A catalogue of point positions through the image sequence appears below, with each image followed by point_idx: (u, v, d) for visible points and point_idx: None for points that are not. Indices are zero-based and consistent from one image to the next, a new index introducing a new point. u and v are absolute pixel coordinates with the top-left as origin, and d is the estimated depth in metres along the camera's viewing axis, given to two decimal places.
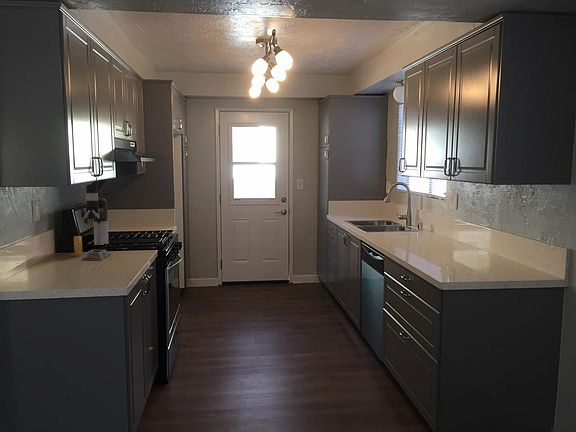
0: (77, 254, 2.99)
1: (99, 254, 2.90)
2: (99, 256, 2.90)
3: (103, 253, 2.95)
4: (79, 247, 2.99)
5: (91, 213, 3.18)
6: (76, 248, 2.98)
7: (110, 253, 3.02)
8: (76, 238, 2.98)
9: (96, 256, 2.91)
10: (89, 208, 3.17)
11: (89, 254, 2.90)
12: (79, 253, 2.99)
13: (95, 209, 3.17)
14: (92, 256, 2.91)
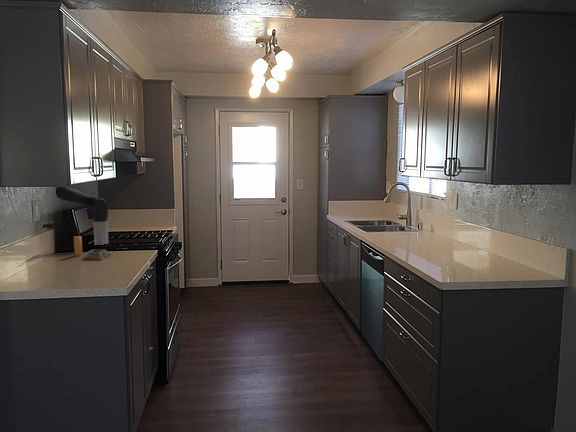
0: (77, 254, 2.99)
1: (99, 254, 2.90)
2: (99, 256, 2.90)
3: (103, 253, 2.95)
4: (79, 247, 2.99)
5: None
6: (76, 248, 2.98)
7: (110, 253, 3.02)
8: (76, 238, 2.98)
9: (96, 256, 2.91)
10: None
11: (89, 254, 2.90)
12: (79, 253, 2.99)
13: None
14: (92, 256, 2.91)
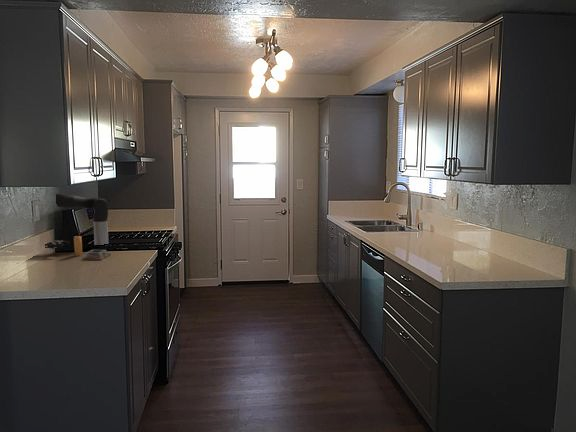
0: (77, 254, 2.99)
1: (99, 254, 2.90)
2: (99, 256, 2.90)
3: (103, 253, 2.95)
4: (79, 247, 2.99)
5: None
6: (76, 248, 2.98)
7: (110, 253, 3.02)
8: (76, 238, 2.98)
9: (96, 256, 2.91)
10: None
11: (89, 254, 2.90)
12: (79, 253, 2.99)
13: None
14: (92, 256, 2.91)
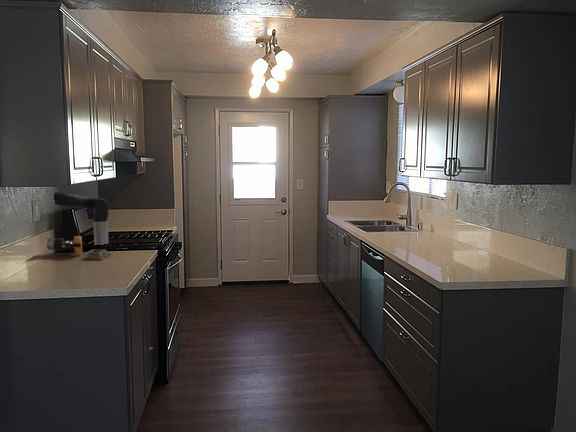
0: (77, 254, 2.99)
1: (99, 254, 2.90)
2: (99, 256, 2.90)
3: (103, 253, 2.95)
4: (79, 247, 2.99)
5: (70, 245, 3.01)
6: (76, 248, 2.98)
7: (110, 253, 3.02)
8: (76, 238, 2.98)
9: (96, 256, 2.91)
10: None
11: (89, 254, 2.90)
12: (79, 253, 2.99)
13: None
14: (92, 256, 2.91)
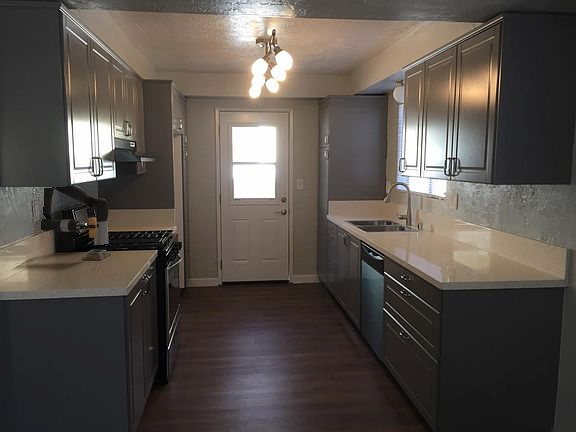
0: (92, 236, 2.91)
1: (99, 254, 2.90)
2: (99, 256, 2.90)
3: (103, 253, 2.95)
4: (94, 229, 2.91)
5: None
6: (91, 230, 2.91)
7: (110, 253, 3.02)
8: (91, 219, 2.90)
9: (96, 256, 2.91)
10: None
11: (89, 254, 2.90)
12: (94, 235, 2.92)
13: None
14: (92, 256, 2.91)
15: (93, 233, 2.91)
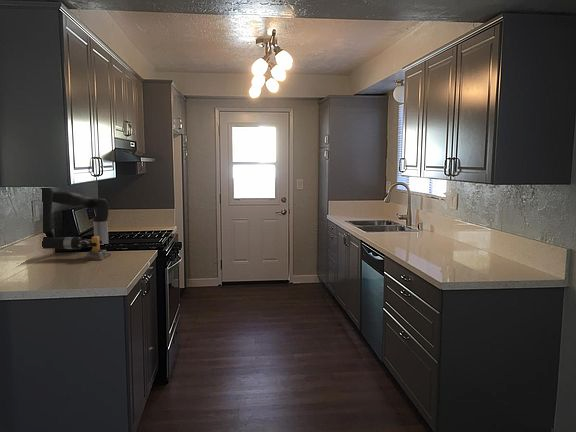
0: None
1: (99, 254, 2.90)
2: (99, 256, 2.90)
3: (103, 253, 2.95)
4: (97, 247, 2.93)
5: None
6: (94, 248, 2.92)
7: (110, 253, 3.02)
8: (94, 238, 2.92)
9: (96, 256, 2.91)
10: None
11: (89, 254, 2.90)
12: None
13: None
14: (92, 256, 2.91)
15: None
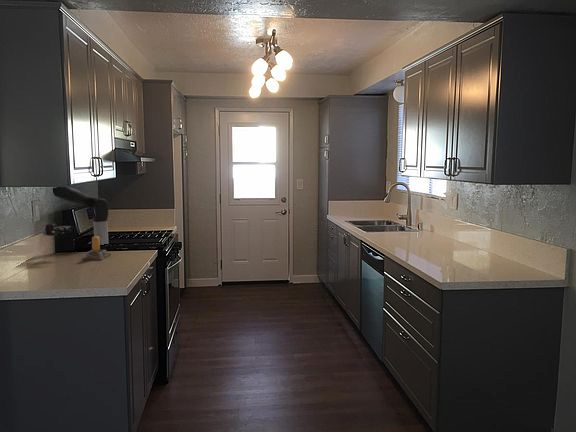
0: None
1: (99, 254, 2.90)
2: (99, 256, 2.90)
3: (103, 253, 2.95)
4: (97, 248, 2.93)
5: None
6: (94, 249, 2.92)
7: (110, 253, 3.02)
8: (94, 238, 2.91)
9: (96, 256, 2.91)
10: None
11: (89, 254, 2.90)
12: None
13: None
14: (92, 256, 2.91)
15: None
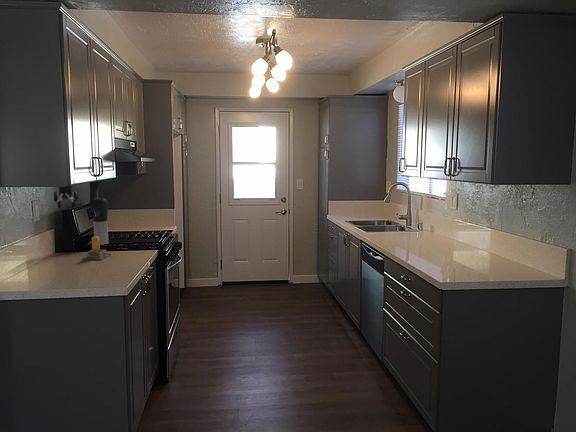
0: None
1: (99, 254, 2.90)
2: (99, 256, 2.90)
3: (103, 253, 2.95)
4: (97, 248, 2.93)
5: (64, 196, 2.97)
6: (94, 249, 2.92)
7: (110, 253, 3.02)
8: (94, 238, 2.91)
9: (96, 256, 2.91)
10: (62, 191, 2.97)
11: (89, 254, 2.90)
12: None
13: (68, 192, 2.97)
14: (92, 256, 2.91)
15: None
